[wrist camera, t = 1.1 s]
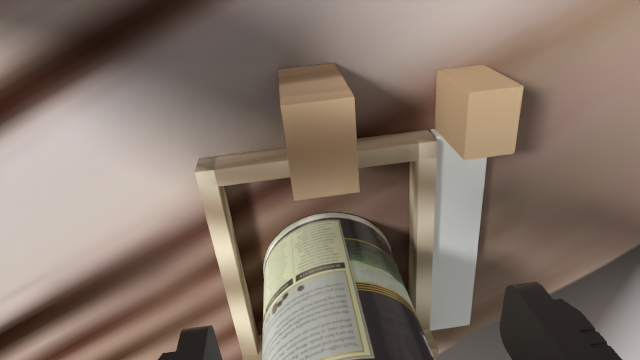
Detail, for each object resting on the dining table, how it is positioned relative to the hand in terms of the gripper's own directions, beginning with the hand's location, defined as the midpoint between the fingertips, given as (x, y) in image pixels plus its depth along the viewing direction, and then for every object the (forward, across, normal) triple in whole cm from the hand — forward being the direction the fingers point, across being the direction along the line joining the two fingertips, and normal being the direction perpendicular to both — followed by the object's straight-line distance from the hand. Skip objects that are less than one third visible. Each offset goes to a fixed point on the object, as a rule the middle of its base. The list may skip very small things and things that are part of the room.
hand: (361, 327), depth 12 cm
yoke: (+18, 0, +9) cm, 20 cm away
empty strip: (+18, -10, +9) cm, 23 cm away
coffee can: (+18, 0, +13) cm, 22 cm away
